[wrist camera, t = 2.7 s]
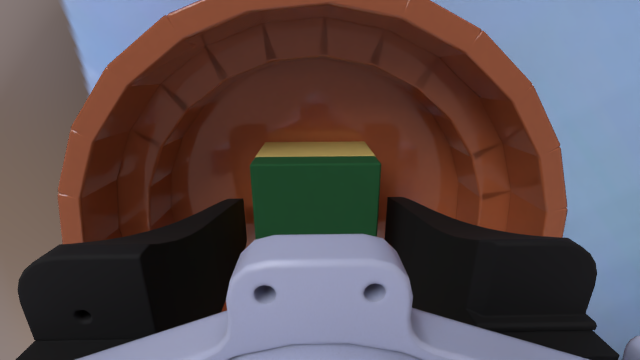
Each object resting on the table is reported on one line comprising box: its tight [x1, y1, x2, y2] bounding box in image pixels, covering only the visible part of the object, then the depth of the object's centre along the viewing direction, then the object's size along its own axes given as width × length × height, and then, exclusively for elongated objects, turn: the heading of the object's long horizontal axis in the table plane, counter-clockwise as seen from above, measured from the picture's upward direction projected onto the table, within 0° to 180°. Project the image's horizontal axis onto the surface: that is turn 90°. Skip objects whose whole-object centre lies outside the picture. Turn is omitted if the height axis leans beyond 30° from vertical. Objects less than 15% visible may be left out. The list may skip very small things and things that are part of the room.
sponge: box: [250, 141, 381, 239], centre depth 12 cm, size 6×4×3 cm, turn 0°
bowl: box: [58, 0, 567, 312], centre depth 12 cm, size 16×16×4 cm
